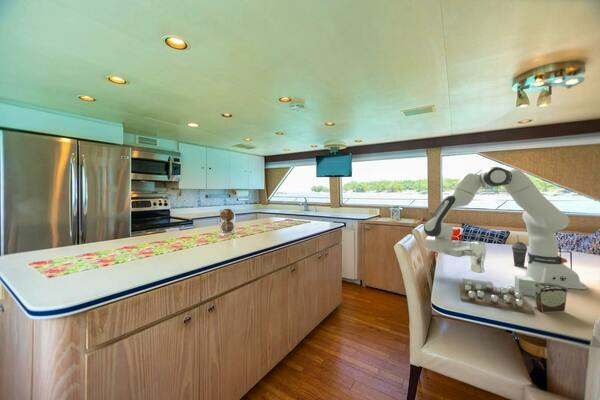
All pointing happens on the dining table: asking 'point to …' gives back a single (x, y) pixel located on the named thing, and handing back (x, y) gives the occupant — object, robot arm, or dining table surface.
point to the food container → (550, 297)
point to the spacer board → (500, 305)
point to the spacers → (494, 297)
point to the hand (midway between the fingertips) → (479, 253)
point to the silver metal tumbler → (477, 256)
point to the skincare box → (524, 285)
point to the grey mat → (483, 283)
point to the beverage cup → (519, 253)
